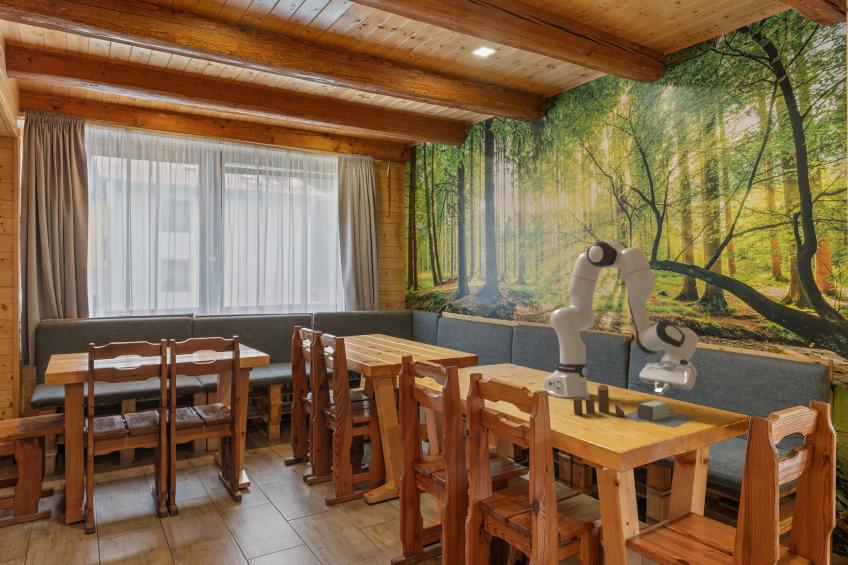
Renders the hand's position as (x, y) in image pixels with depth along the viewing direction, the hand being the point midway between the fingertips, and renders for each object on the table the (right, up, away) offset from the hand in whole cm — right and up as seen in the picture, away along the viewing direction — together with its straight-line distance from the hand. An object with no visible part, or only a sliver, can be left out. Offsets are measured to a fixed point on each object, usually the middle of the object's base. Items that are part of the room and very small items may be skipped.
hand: (658, 393), depth 205 cm
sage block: (+3, -6, +2) cm, 7 cm away
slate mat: (0, -9, -1) cm, 9 cm away
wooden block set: (-21, -9, +4) cm, 23 cm away
